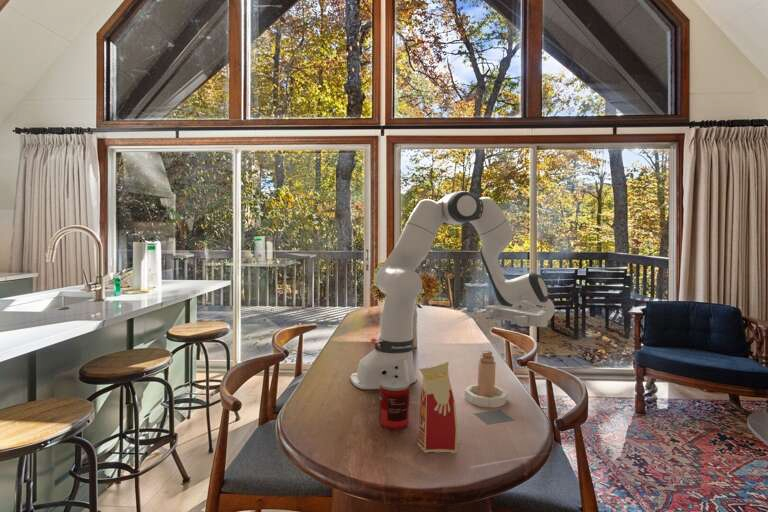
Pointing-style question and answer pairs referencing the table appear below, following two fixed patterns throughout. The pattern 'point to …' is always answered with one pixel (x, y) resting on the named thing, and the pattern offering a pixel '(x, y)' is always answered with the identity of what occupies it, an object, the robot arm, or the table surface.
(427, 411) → the milk carton
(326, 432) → the table surface
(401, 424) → the canned food
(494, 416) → the felt mat
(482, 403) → the bowl
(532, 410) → the table surface
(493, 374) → the tan knobbed cylinder
